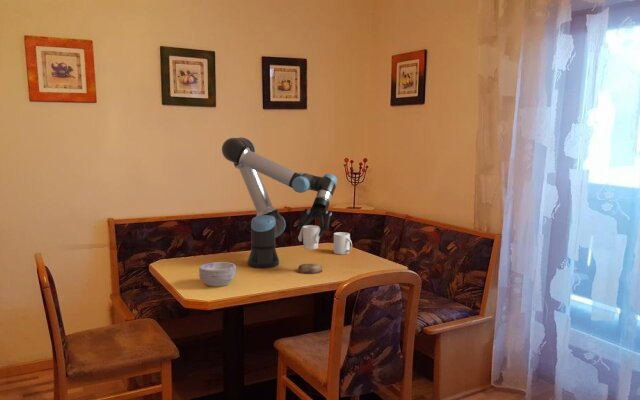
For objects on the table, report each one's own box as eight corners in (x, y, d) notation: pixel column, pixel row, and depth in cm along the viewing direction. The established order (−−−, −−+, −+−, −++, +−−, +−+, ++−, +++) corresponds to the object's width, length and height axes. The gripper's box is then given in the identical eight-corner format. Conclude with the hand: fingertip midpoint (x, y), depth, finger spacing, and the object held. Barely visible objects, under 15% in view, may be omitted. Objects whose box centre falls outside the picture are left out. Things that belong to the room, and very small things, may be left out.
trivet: (301, 274, 235) (301, 269, 234) (296, 268, 245) (296, 263, 245) (324, 273, 237) (324, 268, 237) (319, 267, 248) (319, 262, 248)
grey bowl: (206, 278, 227) (205, 260, 226) (239, 279, 226) (239, 261, 225) (194, 288, 212) (193, 269, 211) (230, 289, 211) (230, 270, 210)
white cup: (299, 246, 242) (300, 225, 241) (315, 245, 245) (315, 224, 244) (306, 250, 235) (306, 228, 233) (321, 249, 238) (322, 227, 237)
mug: (345, 257, 270) (346, 236, 268) (330, 252, 279) (330, 233, 277) (357, 254, 275) (357, 234, 274) (341, 250, 284) (342, 231, 283)
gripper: (343, 207, 248) (330, 247, 235) (305, 205, 256) (290, 243, 243) (339, 198, 242) (326, 237, 229) (300, 195, 250) (285, 234, 238)
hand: (307, 240), depth 236 cm, fingers closed on white cup, 8 cm apart
